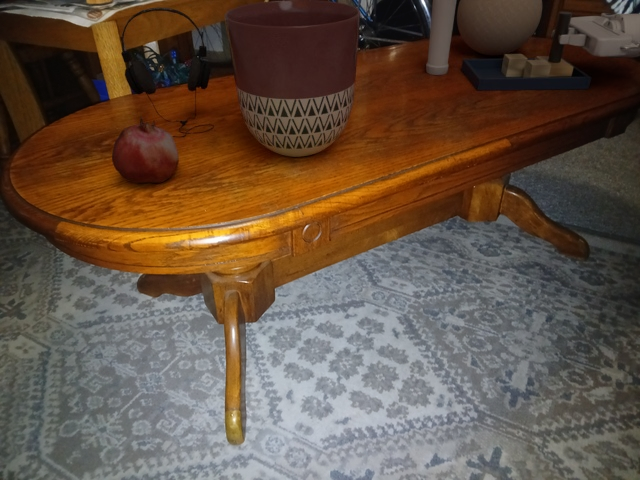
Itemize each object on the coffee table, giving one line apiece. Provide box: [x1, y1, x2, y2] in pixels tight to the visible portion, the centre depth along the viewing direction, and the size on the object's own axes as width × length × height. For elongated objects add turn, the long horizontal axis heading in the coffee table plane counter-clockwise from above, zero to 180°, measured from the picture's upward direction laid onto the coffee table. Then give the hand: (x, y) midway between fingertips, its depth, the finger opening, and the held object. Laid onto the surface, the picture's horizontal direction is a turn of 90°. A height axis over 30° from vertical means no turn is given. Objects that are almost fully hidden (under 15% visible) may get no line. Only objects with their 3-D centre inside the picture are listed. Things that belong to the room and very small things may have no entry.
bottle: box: [425, 0, 457, 76], centre depth 114 cm, size 5×5×25 cm
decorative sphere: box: [456, 0, 543, 57], centre depth 128 cm, size 20×20×20 cm
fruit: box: [111, 116, 180, 184], centre depth 75 cm, size 9×10×10 cm
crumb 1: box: [501, 53, 528, 77], centre depth 116 cm, size 4×4×4 cm
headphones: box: [119, 6, 215, 138], centre depth 90 cm, size 15×11×20 cm
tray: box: [460, 57, 592, 92], centre depth 115 cm, size 24×16×2 cm, turn 90°
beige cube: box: [523, 60, 551, 77], centre depth 112 cm, size 4×4×4 cm
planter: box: [224, 0, 361, 158], centre depth 80 cm, size 20×20×21 cm
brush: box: [534, 11, 574, 77], centre depth 112 cm, size 5×9×13 cm, turn 0°
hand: (555, 36), depth 111 cm, fingers closed on brush, 2 cm apart
